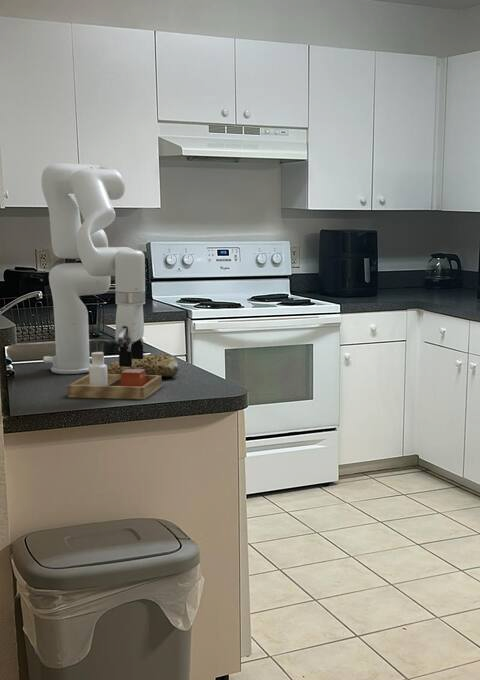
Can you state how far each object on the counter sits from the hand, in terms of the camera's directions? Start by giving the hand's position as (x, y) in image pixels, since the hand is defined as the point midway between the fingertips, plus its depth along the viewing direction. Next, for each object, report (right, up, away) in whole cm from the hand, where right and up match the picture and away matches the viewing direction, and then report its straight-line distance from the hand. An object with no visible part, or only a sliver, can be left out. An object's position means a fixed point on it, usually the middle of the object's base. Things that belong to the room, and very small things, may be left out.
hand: (131, 362), depth 236 cm
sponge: (-1, -5, +18) cm, 18 cm away
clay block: (0, -7, +1) cm, 7 cm away
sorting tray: (-4, -8, +1) cm, 9 cm away
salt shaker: (-9, -7, +1) cm, 11 cm away
